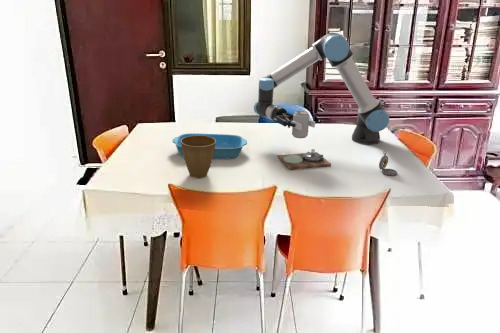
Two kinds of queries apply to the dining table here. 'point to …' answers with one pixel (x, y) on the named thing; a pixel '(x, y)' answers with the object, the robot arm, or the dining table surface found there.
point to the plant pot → (198, 154)
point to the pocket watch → (384, 162)
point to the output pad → (292, 159)
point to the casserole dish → (218, 145)
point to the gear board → (303, 163)
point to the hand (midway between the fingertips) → (307, 125)
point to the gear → (312, 156)
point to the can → (303, 119)
